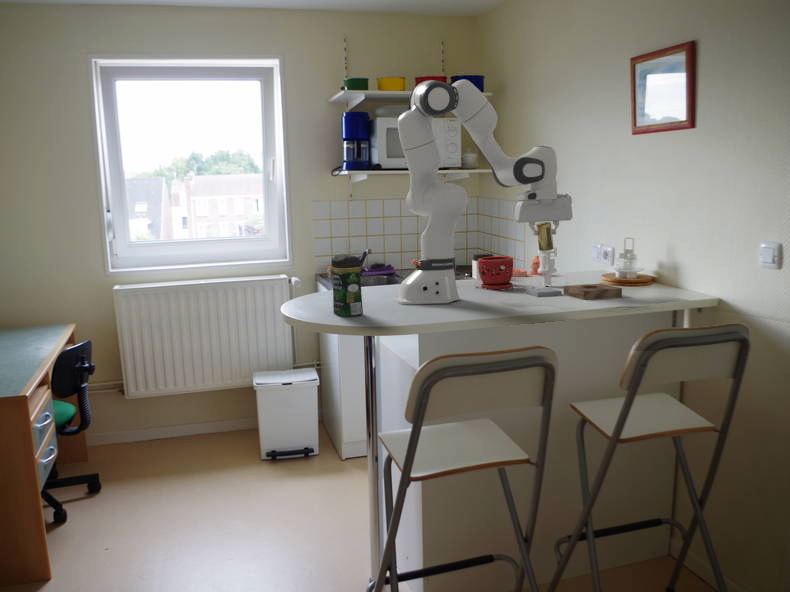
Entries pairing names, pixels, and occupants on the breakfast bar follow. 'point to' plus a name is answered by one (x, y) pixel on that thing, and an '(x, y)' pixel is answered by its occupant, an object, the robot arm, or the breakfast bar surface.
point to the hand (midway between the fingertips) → (544, 234)
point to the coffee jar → (347, 286)
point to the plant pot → (496, 272)
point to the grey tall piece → (547, 265)
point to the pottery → (534, 267)
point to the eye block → (592, 291)
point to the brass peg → (545, 236)
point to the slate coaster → (544, 292)
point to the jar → (475, 263)
